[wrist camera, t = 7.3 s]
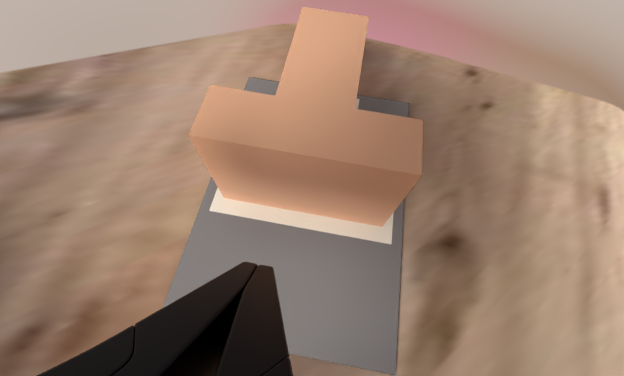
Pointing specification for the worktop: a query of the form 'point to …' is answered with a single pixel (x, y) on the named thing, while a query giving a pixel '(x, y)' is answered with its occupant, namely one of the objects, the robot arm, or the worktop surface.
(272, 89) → the mat
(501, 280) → the worktop surface
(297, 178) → the t block
